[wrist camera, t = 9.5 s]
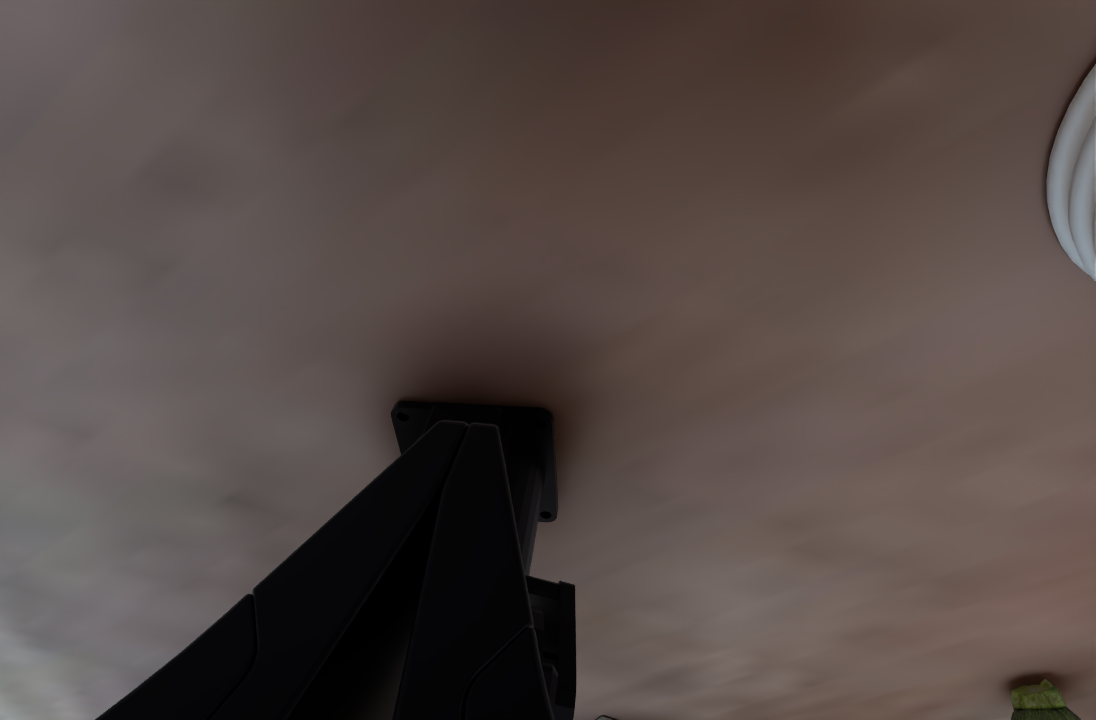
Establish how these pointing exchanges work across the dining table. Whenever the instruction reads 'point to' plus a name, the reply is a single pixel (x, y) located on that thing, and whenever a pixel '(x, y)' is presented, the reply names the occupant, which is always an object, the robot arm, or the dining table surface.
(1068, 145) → the white round dish
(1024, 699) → the vegetable
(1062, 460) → the dining table surface
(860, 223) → the dining table surface
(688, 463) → the dining table surface
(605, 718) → the coffee box
